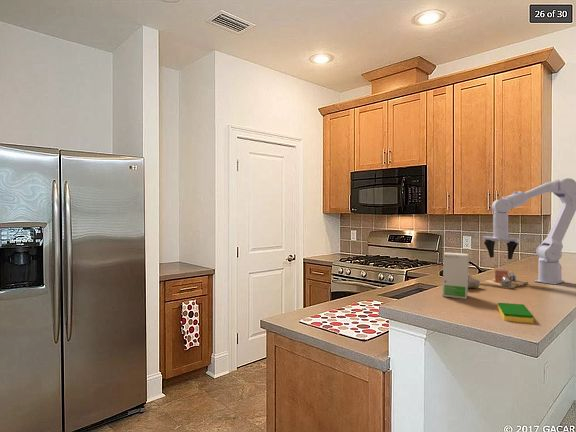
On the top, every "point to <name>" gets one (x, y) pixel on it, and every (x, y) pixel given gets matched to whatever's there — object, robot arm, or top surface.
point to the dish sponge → (515, 312)
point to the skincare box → (455, 275)
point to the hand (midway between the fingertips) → (500, 258)
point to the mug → (473, 282)
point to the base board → (495, 284)
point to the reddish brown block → (501, 274)
